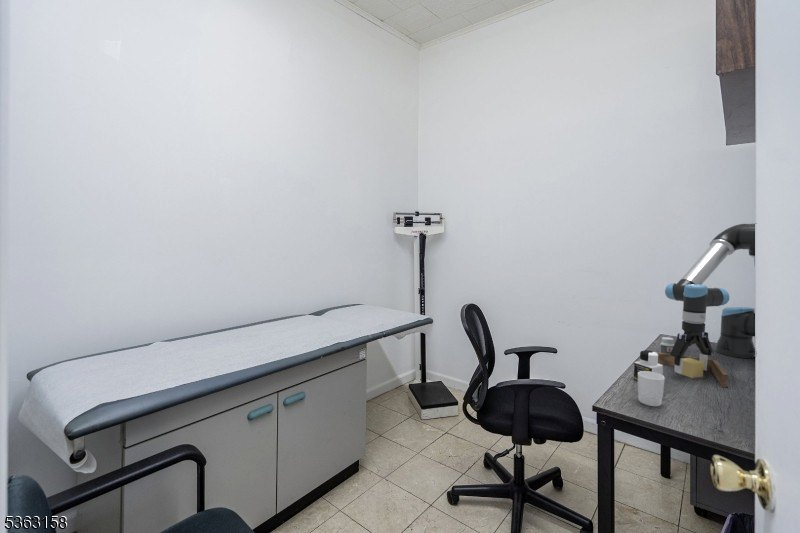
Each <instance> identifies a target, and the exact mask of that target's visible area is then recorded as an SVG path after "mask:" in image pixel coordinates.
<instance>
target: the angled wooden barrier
mask: <svg viewBox="0 0 800 533" xmlns="http://www.w3.org/2000/svg"><path fill="white" fill-rule="evenodd" d="M655 352H656V353H657V354H658V364H661V365H663V366H670V367H675V364H674V360H675V357H674V356H671V355H670V354H667V353H660V351H659V352H658V351H655ZM682 358H691V359H695V360H698V361H699V358H700V356H699V357H697V356H689V355H683V356H682ZM706 372H711V373H712V375H713V376H714V377H715V379H716V380H717V381H718V383H719V385H720V386H721V387H722V388H728V382H729V374H728V373H727V372H726V371H725V369H724V368H723V367H722V365H721V364H720V363H719V361H718V360H717V359H714V358H708V361H707V370H706Z"/></svg>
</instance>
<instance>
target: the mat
mask: <svg viewBox="0 0 800 533" xmlns="http://www.w3.org/2000/svg"><path fill="white" fill-rule="evenodd" d="M674 373H675V374H678V375H680V376H682V377H685V378H689V379H691V380H698V379H703V378H706V376H705V375H703V376H702V377H695V378H691V377H688V376H685V375H682V374H679V373H677V372H674Z"/></svg>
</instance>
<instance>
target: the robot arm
mask: <svg viewBox="0 0 800 533" xmlns="http://www.w3.org/2000/svg"><path fill="white" fill-rule="evenodd" d="M755 224H756V223H740V224H735V225H733V226H730V227H729V228H726V229H724V230H722V232H720V233H718V234H717V235H716V236H715V237H714V238H713V239H712V240H711V241H710V242H709V247H708V248H707V249H706V250H705V251H704V252H703V254H702V255H700V257H699V258H698V259H697V260H696V262H694V264H693V265H692V266H691V267H690V268H689V269H688V271H687V272H686V273H685V274H684V275H683V276H682V277H681V278H680V280H678V282H677V283H669V284H667V285H666V286H665V289H664V293H665V296H666V298H668V299H670V300H673V301H677V302H678V301H680V302H683V307H682V316H681V317H682V318H681V320H682V322H681V330H682V331H683V333H677V337H676V340H675V341H674V347H673V349H672V351H671V354H670V355H671V356H674V357H675V360H674V364H675V366H674V373H675V372H677V373H679V374H678V375H680V374H682V369H683V358H682V356H685V355H684V354H685V353H686V352H687V350H688V348H689V347H690V346H692V345H695V346H697V348H698V349H699V351H700V353H699V361H701V362H704V366H703V371H706V370H707V361H708V359H709V356H711V357H712V353H713V351H715V352H716V353H718V354H721V355H724V356H728V357H735V358H739V357H741V359H755V358H754V355H755V349H756V347H755V344H754V341H753V337H755V309H756V308H754V307H746V306H740V307H739V306H733V307H732V306H729V307H725V308H723V309H722V311H721V316H720V317H721V322H720V335H719V338H718V340H717V342H716V344H715V346H714V350H713V348H712V345H711V342H710V338H709V332H707V331H706V324H705V323H706V316H707V315H706V313H707V307H720V306H724V305H726V304H728V303H729V301H730V294H729V292H728V291H727V290H726V289H724V288H721V287H707V285H704V282H706V281H707V279H708V278H709V277H710V276H711V274H712V273H713V272H714V271H715V270H716V269H717V268H718V267H719V266H720V265H721V263H722V262H723V261H724V260H725V259H726V258H727V256H731V255H732V254H734V253H735V252H736V251H738V250H747V251H748V255H749V256H750V257H752V258H753V262H754V263H753V264H754V266H755ZM755 338H756V337H755ZM674 353H675V354H674ZM751 357H752V358H751ZM706 372H707V371H706ZM677 373H676V374H677Z"/></svg>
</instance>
